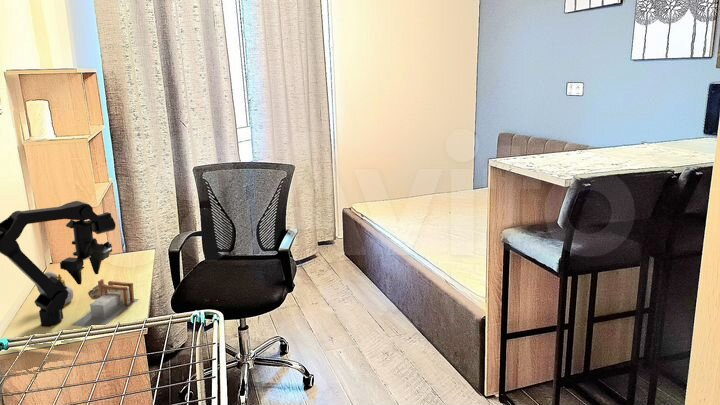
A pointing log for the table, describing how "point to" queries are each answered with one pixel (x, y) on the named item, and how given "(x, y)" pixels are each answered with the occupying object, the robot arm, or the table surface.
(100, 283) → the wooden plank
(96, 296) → the mineral rock
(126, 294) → the collar
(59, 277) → the white faceted ball
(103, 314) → the grey long block
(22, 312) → the table surface
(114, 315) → the board
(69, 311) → the table surface
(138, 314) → the table surface
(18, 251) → the robot arm
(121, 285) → the angle bracket
